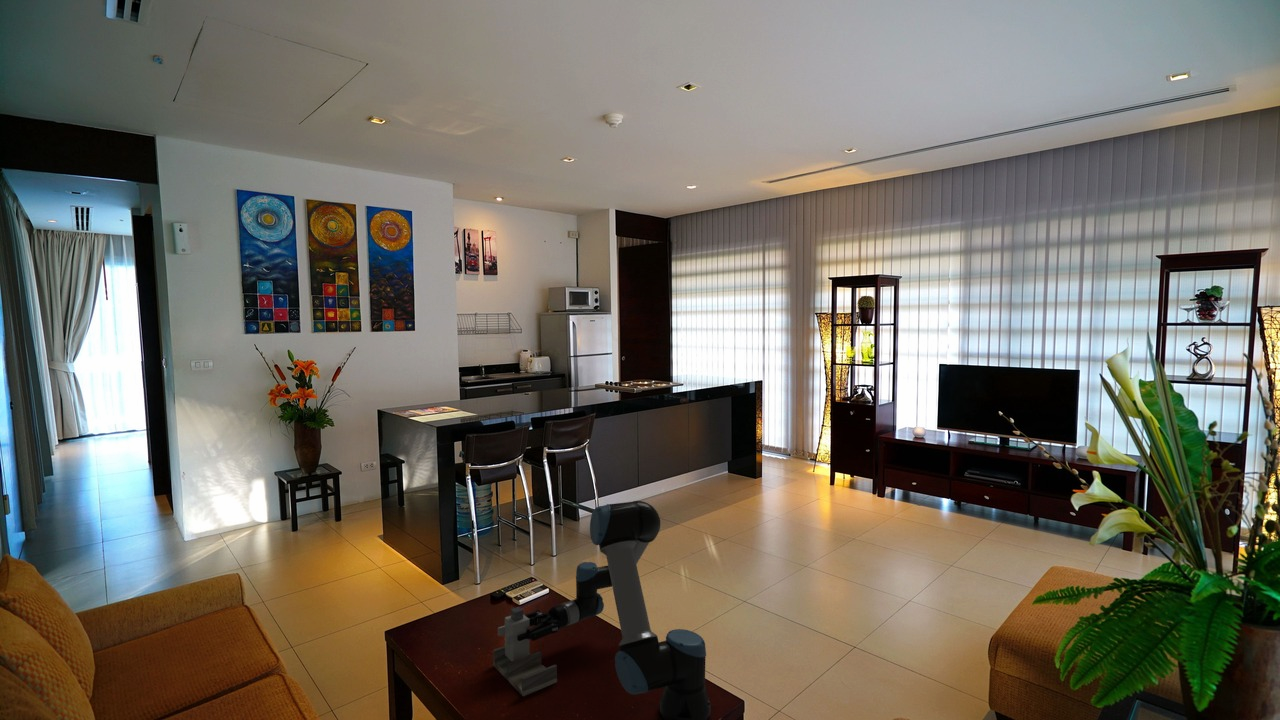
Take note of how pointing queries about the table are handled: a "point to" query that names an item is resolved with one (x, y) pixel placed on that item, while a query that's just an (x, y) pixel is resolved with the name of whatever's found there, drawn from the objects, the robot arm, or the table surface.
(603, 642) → the table surface
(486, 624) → the table surface
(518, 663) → the slot rack
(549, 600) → the table surface
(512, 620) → the grey square bottle
